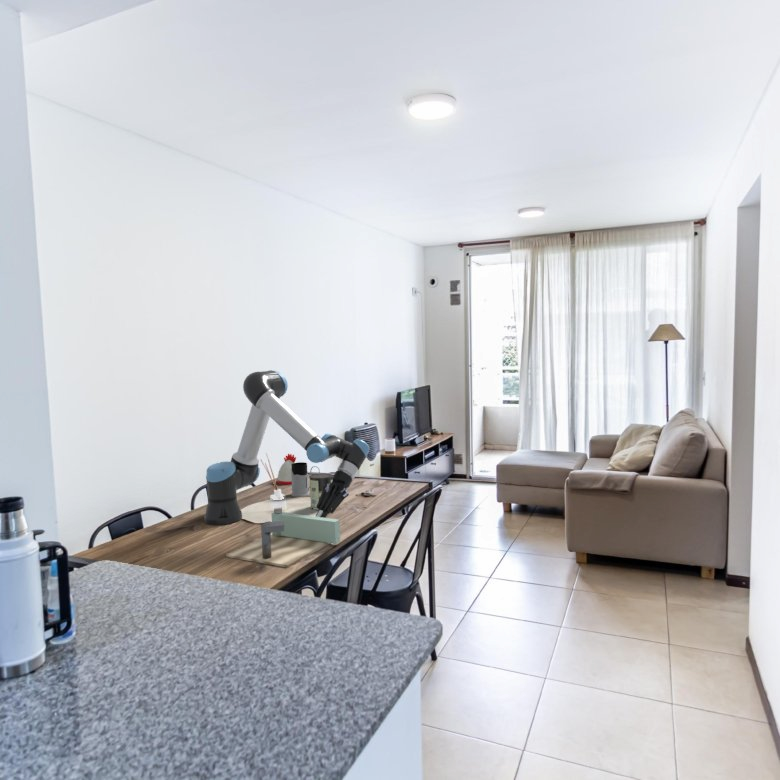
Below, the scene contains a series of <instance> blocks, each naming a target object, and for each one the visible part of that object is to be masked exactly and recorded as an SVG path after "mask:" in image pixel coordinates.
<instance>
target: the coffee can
mask: <svg viewBox="0 0 780 780" xmlns="http://www.w3.org/2000/svg"><path fill="white" fill-rule="evenodd" d="M333 476H334V474H332V473H325V472H324V473H323V472H322V473H321V472H320V474H319V473H314V474H311V475H308V479H309V487H310V488H309V493H310V494H309V495H310V509H312V508H313V509H312V510H315V509H318V508H317V504H318V501H319V499H320V496H321V494H322V491H323V486H325V487H327V486H329V484H330V483H331V482H332V477H333ZM317 511H319V509H318V510H317Z"/></svg>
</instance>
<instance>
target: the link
mask: <svg viewBox="0 0 780 780" xmlns="http://www.w3.org/2000/svg"><path fill="white" fill-rule="evenodd" d="M315 516H316V515H315ZM315 516H313V515H307V514H305V515H304V514H298V513H290V512H289V513H288V512H285V511H282V513H279V514H275V513H274V511H273V512H272V513H271V522H277V521H284V525H285V527H284V531H281V532H271V533H272V535H273V536H286V537H293V538H299V539H306V540H313V541H319V542H326V543H330V544H334V545H336V544H339V542H341V529H340V528H341V527H340V526H341V525H340V521H341V520H340V519H336V518H328V517H326V518H322V517H315Z"/></svg>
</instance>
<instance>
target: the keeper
mask: <svg viewBox="0 0 780 780" xmlns="http://www.w3.org/2000/svg"><path fill="white" fill-rule="evenodd" d="M284 527H285V525H284V521H277V522H272V521H266V522H263V523H261V524H260V531H261V532H260V535H261V538H262V558H263V559H269V558H271V557H272V554H271V533H272V532H281V531H284Z"/></svg>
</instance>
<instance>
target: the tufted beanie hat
mask: <svg viewBox="0 0 780 780" xmlns="http://www.w3.org/2000/svg"><path fill="white" fill-rule="evenodd" d="M296 459H297V457H296V456H295V454H292V453H288V454H287V455H285V457H283V460H284V462H283V463H282V465H281V466H280V467H279V471H278V473H277V484H279V485H289V486H290V485H292V475H291V469H292V466H291V464H293V463H298V462H297V461H296Z"/></svg>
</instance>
